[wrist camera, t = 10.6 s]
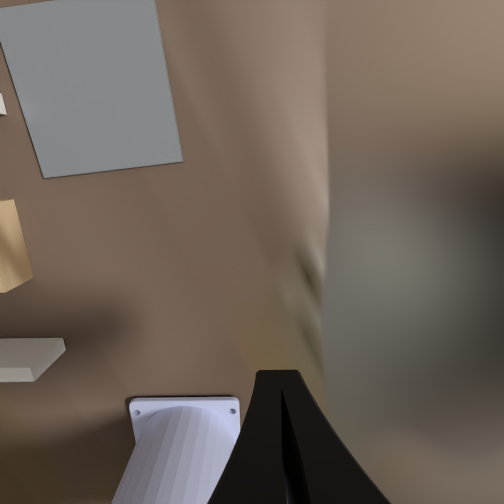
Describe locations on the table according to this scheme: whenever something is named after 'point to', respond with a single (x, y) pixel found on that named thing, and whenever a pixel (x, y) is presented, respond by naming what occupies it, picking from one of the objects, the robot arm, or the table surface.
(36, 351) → the frame
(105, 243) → the table surface
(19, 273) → the tile
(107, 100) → the slate coaster
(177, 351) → the table surface
